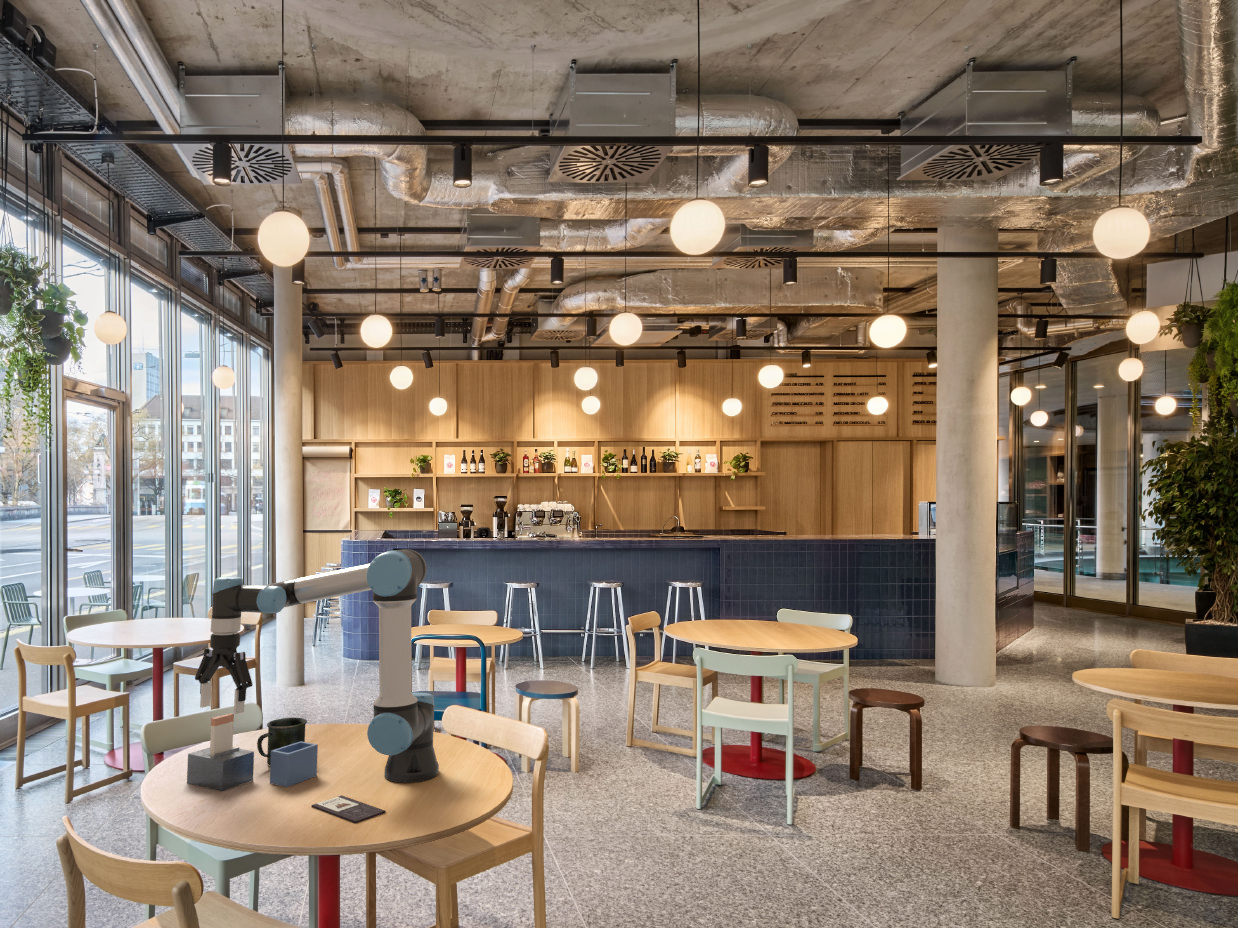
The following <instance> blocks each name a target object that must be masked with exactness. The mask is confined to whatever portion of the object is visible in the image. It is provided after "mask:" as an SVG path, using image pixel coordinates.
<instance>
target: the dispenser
mask: <svg viewBox="0 0 1238 928" xmlns="http://www.w3.org/2000/svg"><path fill="white" fill-rule="evenodd" d="M254 760H255V751H253V750H248V749H243V748H240V746H237V747H235V746H233V748H232V749H229V750H226V751H223V752H219V753H216V754H213V756H210V747H206V748H204V749H200V750H196V751H193V752H189V753H187V773H186V774H187V775H186V784H188V785H192V786H195V787H201V788H205V789H209V790H213V791H217V792H222V793H223V792H225V791H228V790H230V789H234V788H236V787H239V786H241V785H245V784H248V783H251V782H253V781H254V769H255V768H254V767H255V766H254V762H255V761H254Z"/></svg>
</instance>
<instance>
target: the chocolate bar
mask: <svg viewBox="0 0 1238 928" xmlns="http://www.w3.org/2000/svg"><path fill="white" fill-rule="evenodd" d="M311 808H313V809H316V810H318V811H320V812H323V813H326V814H329V815H332V816H334V817H337V818H340V819H341V820H345V821H348V822H349V823H353V824H355V825H357V824H358V823H362V822H364V821H366V820H370V819H372V818H375V817H378V816H381V815H383V814H384V815H385V814H386V813H387V812H386V810H385V809H382V808H379V807H377V806H373V805H370V804H367V803H365V802H362V801H359V800H357V799H353V798H352V797H351V798H350V797H348V796H345V795H339V796H336V797H332V798H330V799H327V800H323V801H320V802H317V803H316V802H315V803H314V804H311Z"/></svg>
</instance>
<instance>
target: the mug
mask: <svg viewBox="0 0 1238 928" xmlns="http://www.w3.org/2000/svg"><path fill="white" fill-rule="evenodd" d="M307 723H308V721H307V719H306V718H302V717H284V718H277V719H273V720H270V721H269V722H268V723H267V724H266V727H267V730H268V731H267V732H266V733H263V734H260V736H259V737H258V738H257V741H256V746H257V748H256V749H257V751H258V753H259V755H260V756H262V757H263V758H266V759H267V760H266V761H267V762H266V763H267V765H268V766H269V767H270V761H271V751H272V750H275V749H278V748H281V747H285V746H288V745H291V744H294V743H297V742H300V741H302V742H306V724H307ZM266 738H267V751H266V752H267V753H265V752H264V749H263V745H262V744H263V741H264V739H266Z"/></svg>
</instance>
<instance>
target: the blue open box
mask: <svg viewBox="0 0 1238 928" xmlns="http://www.w3.org/2000/svg"><path fill="white" fill-rule="evenodd" d="M318 747H319V746H318V744H317V743H311V742H306V741H305V742H302V741H300V742H297V743H294V744H291V745H288V746H285V747H281V748H278V749H275V750H272V751H271V761H270V766H269V769H270V770H269V784H271V785H276V786H280V787H286V788H289V787H291V786H294V785H296V784H299V783H301V782H304V781H307V780H310V779H312V778H313V779H314V777H317V775H318V753H319V752H318V751H319V749H318Z"/></svg>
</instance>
